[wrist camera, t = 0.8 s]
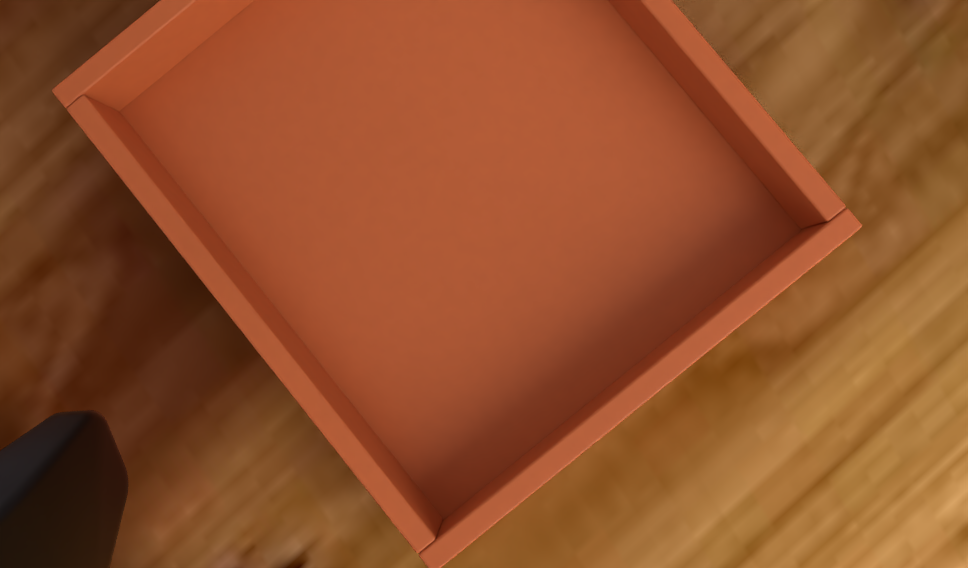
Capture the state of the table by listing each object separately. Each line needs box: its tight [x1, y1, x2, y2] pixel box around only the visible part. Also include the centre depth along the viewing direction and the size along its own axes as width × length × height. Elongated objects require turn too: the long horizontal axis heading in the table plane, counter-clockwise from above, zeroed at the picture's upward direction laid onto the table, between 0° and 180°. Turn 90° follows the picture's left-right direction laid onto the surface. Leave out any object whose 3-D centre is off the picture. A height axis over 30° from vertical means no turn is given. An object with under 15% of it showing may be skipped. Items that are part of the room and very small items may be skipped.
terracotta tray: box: [52, 0, 862, 568], centre depth 22 cm, size 15×13×3 cm
